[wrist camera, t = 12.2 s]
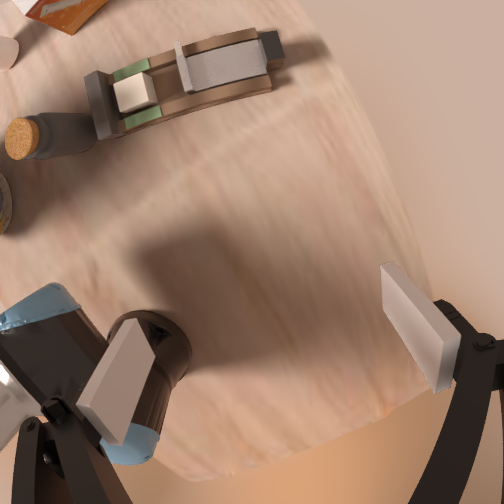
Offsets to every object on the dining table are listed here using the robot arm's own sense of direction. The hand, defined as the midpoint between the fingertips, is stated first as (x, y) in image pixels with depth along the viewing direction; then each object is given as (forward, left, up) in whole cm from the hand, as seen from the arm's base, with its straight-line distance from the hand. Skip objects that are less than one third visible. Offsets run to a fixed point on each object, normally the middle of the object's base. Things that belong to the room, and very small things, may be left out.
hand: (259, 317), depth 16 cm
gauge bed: (-6, +19, -29) cm, 35 cm away
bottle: (-22, +17, -29) cm, 40 cm away
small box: (-18, +38, -29) cm, 51 cm away
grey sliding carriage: (+1, +20, -27) cm, 34 cm away
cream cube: (-11, +19, -28) cm, 35 cm away
